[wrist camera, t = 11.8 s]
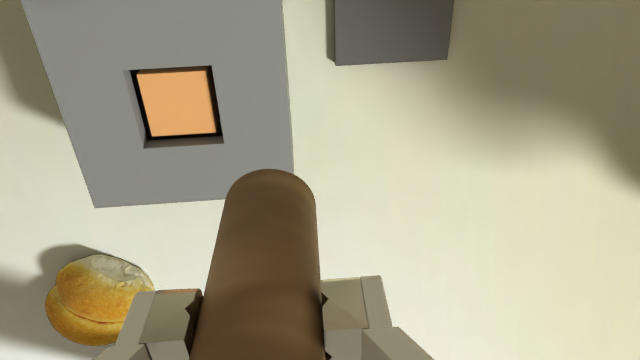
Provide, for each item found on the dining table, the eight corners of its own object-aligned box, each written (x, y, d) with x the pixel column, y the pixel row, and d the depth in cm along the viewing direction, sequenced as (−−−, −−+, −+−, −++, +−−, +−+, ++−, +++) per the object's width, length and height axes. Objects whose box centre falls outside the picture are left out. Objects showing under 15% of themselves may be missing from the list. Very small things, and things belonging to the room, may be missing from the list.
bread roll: (43, 307, 41) (21, 344, 38) (76, 238, 38) (55, 272, 34) (133, 336, 44) (120, 373, 41) (172, 275, 40) (161, 310, 37)
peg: (313, 165, 15) (337, 542, 6) (317, 239, 16) (342, 619, 8) (217, 171, 15) (111, 558, 6) (231, 245, 16) (162, 634, 8)
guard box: (279, -36, 28) (278, -17, 22) (292, 142, 34) (295, 194, 28) (75, -27, 27) (18, -4, 21) (127, 152, 34) (94, 208, 28)
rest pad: (457, -68, 28) (461, -67, 27) (444, 56, 32) (447, 59, 31) (332, -62, 27) (333, -61, 27) (334, 63, 31) (335, 65, 31)
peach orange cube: (214, 49, 28) (205, 70, 24) (223, 105, 30) (216, 132, 26) (154, 52, 28) (136, 74, 24) (166, 108, 30) (152, 136, 26)
